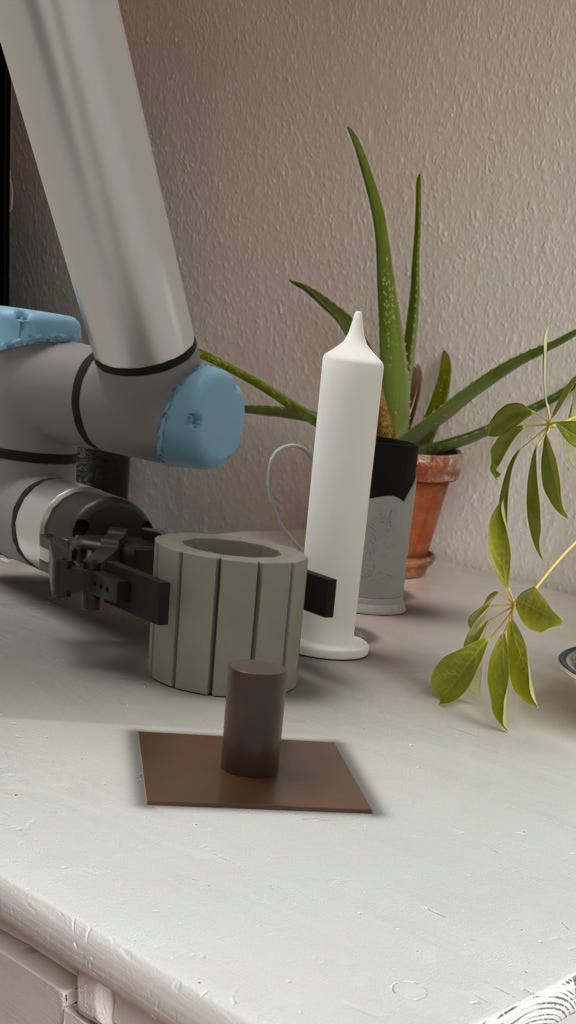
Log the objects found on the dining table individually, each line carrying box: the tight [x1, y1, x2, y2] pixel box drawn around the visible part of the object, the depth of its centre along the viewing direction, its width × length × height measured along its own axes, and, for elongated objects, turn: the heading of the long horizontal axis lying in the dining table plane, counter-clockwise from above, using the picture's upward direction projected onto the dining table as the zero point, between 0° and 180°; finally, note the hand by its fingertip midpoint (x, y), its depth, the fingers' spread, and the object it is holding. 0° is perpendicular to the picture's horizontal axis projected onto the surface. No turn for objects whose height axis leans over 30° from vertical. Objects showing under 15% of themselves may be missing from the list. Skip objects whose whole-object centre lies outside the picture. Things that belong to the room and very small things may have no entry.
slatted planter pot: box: [147, 532, 308, 698], centre depth 88 cm, size 10×10×9 cm
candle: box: [299, 310, 385, 661], centre depth 98 cm, size 7×7×25 cm
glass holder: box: [266, 435, 420, 616], centre depth 117 cm, size 9×14×15 cm, turn 113°
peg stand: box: [137, 660, 373, 814], centre depth 67 cm, size 11×11×7 cm
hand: (252, 601), depth 86 cm, fingers open, 13 cm apart
